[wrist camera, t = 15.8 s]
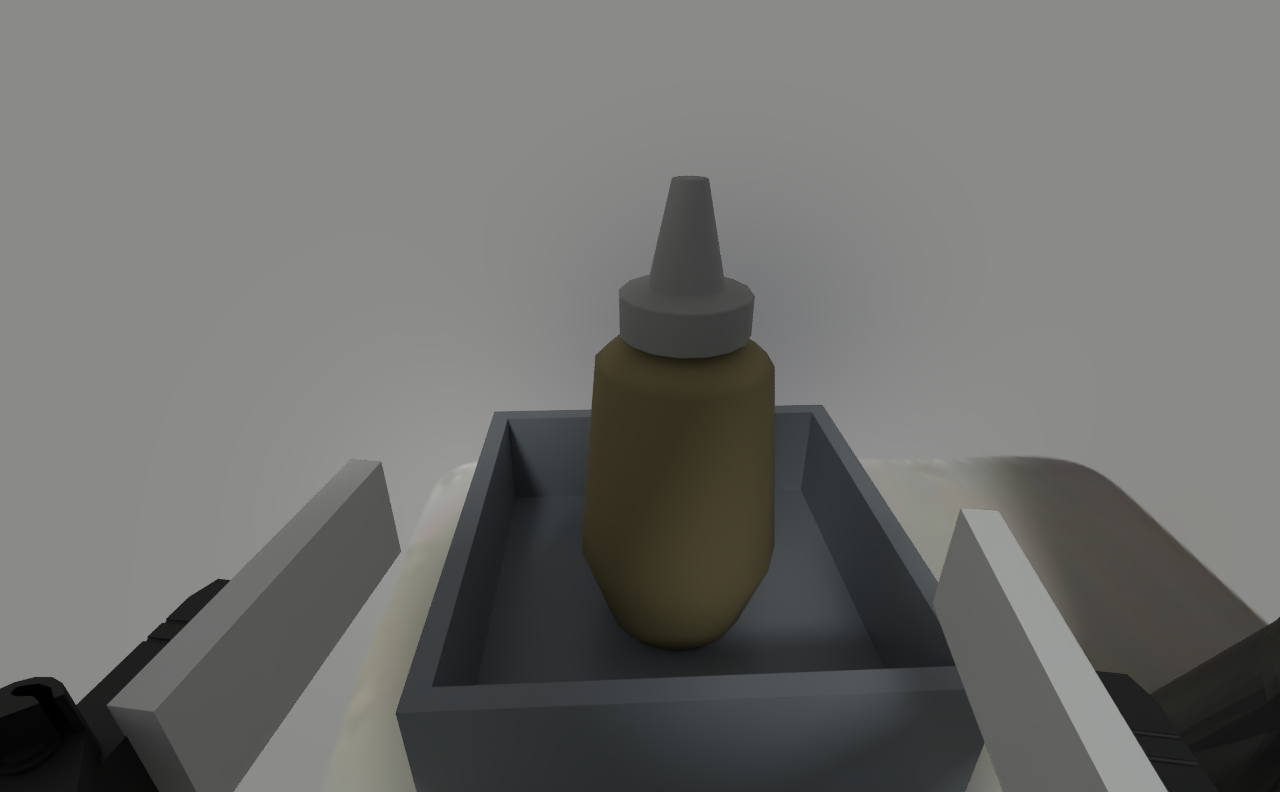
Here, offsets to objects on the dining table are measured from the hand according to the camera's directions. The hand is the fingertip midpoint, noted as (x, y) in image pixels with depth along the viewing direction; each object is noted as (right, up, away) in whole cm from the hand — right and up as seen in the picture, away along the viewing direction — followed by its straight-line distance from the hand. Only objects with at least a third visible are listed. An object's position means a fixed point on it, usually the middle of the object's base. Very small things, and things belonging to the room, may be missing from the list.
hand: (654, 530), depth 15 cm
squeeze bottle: (+1, -6, +14) cm, 15 cm away
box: (+1, -7, +14) cm, 16 cm away
